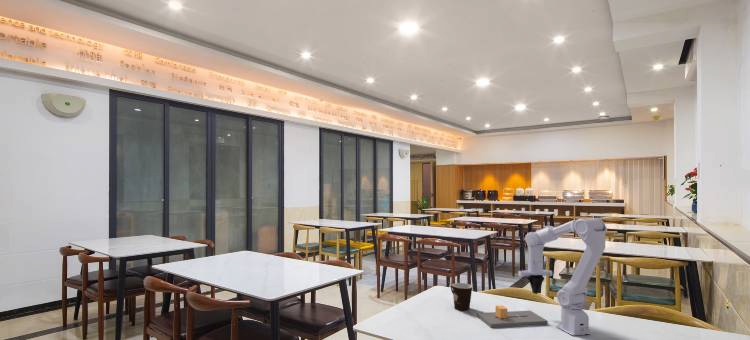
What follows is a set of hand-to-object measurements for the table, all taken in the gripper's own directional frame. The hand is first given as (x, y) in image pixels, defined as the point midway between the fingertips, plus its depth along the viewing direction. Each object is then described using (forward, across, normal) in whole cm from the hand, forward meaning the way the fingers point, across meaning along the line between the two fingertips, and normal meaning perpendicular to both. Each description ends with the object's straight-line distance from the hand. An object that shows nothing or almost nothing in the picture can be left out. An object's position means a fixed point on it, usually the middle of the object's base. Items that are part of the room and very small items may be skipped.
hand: (535, 293), depth 163 cm
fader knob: (+8, +17, +4) cm, 19 cm away
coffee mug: (+10, +27, -14) cm, 32 cm away
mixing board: (+9, +13, +4) cm, 17 cm away
